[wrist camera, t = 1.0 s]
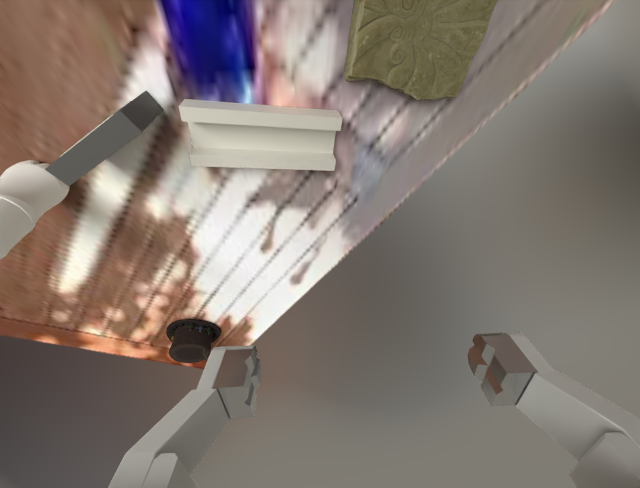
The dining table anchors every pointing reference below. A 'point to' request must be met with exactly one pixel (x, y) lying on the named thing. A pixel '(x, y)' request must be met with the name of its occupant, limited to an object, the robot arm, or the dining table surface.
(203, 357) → the top hat
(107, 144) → the picture frame
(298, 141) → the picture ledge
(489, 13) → the decorative tile
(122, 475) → the robot arm
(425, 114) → the dining table surface
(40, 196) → the water bottle
